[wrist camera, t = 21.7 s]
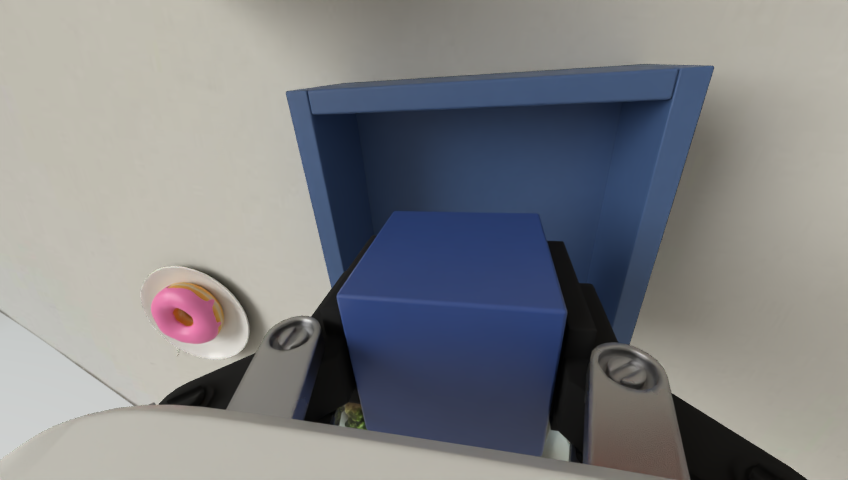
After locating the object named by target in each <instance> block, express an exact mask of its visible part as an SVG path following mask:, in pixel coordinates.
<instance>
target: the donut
mask: <svg viewBox="0 0 848 480" xmlns="http://www.w3.org/2000/svg"><path fill="white" fill-rule="evenodd" d="M141 303H142V307H143V310H144V312H145V314H146V317H147V318H148V320H149V321H150V323H151V325H152V326H153V327H154V328H155V329H156V331H157V332H158V333H159V334H160V335H161V336H162V337H163V338H165V339H166V340H167V341H168V342H169V343H171V344H172V345H174V346H175V347H177V349H178V350H179V351H178V350H177V351H178V353H179V352H180V350H182V351H184V352H186V353H188V354H191V355H193V356H196V357H200V358H204V359H212V360H218V359H226V358H230V357H233V356H235V355H236V354H238V353H240V352H241V351H242V350H243V349H244V348H245V346H246V344H247V342H248V339H249V334H250V331H249V322H248V318H247V315H246V313H245V311H244V309H243V307H242V305H241V304H240V303H239V301H238V300H237V298H236V297H235V296H234V295H233V294H232V293H231V292H230V291H229V290H228V289H227V288H226V287H225V286H224V285H222V284H221V283H220V282H218V281H217V280H215V279H214V278H212V277H210V276H209V275H207V274H205V273H202V272H200V271H197V270H195V269H191V268H187V267H179V266H169V267H162V268H160V269H157V270H155V271H153V272H152V273H151V274H149V275H148V276H147V278H146V279H145V281H144V282H143V285H142V288H141ZM178 355H179V354H178ZM178 355H177V356H178ZM177 356H176V357H177Z"/></svg>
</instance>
